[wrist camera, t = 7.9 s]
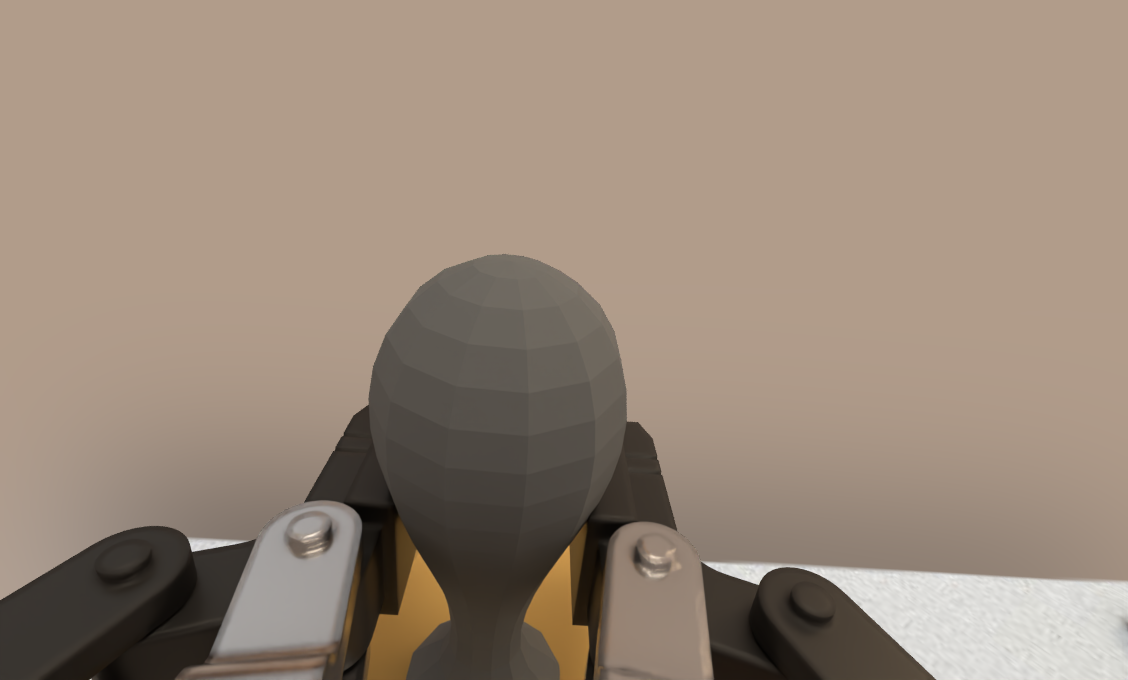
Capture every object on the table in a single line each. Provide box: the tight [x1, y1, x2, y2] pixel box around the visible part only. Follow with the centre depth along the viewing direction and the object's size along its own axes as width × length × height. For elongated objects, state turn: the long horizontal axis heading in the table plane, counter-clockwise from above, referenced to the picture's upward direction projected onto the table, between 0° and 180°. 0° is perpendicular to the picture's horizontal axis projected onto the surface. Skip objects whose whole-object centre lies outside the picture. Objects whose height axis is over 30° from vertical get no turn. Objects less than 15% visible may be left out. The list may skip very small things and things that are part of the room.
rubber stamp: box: [367, 254, 627, 680], centre depth 10 cm, size 10×6×12 cm, turn 165°
